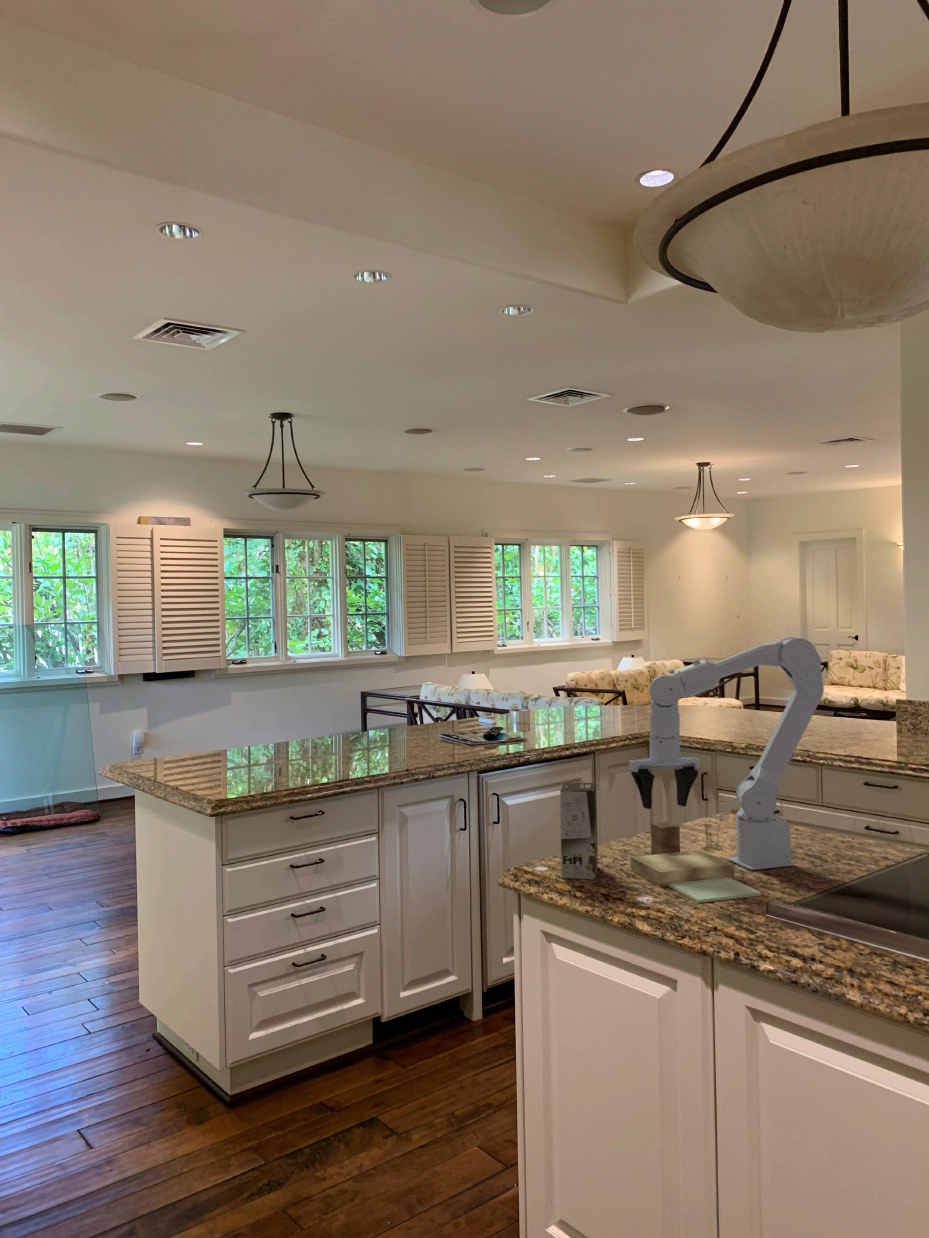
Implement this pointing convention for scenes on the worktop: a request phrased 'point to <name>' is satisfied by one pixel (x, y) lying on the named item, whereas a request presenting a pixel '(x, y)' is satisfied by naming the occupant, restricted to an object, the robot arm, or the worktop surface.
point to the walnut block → (665, 838)
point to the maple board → (681, 867)
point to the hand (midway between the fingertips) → (664, 806)
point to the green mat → (714, 889)
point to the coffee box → (578, 831)
